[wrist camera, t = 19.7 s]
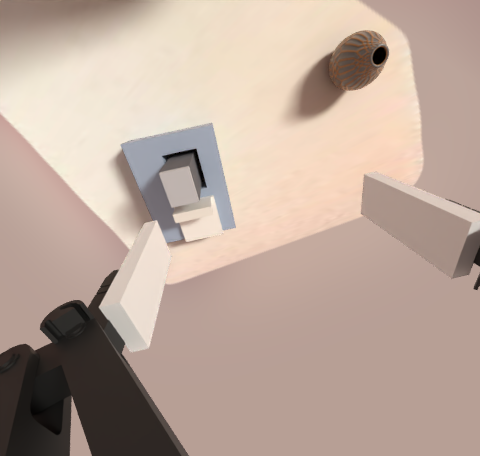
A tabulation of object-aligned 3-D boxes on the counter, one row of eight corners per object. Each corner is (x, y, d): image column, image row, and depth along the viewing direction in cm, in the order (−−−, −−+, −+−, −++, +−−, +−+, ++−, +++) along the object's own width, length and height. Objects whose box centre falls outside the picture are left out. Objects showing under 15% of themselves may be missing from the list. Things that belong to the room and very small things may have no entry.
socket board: (128, 141, 37) (120, 144, 34) (212, 122, 37) (212, 124, 34) (166, 233, 46) (162, 243, 43) (233, 218, 46) (235, 227, 43)
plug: (171, 154, 39) (157, 173, 29) (194, 149, 39) (188, 166, 29) (180, 182, 42) (171, 208, 31) (202, 177, 42) (199, 202, 31)
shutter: (173, 203, 39) (169, 215, 35) (213, 194, 39) (214, 205, 35) (186, 239, 43) (184, 254, 38) (223, 231, 43) (224, 245, 39)
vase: (313, 66, 35) (342, 55, 28) (350, 25, 34) (391, 2, 26) (337, 101, 38) (369, 100, 31) (372, 65, 36) (416, 55, 29)
